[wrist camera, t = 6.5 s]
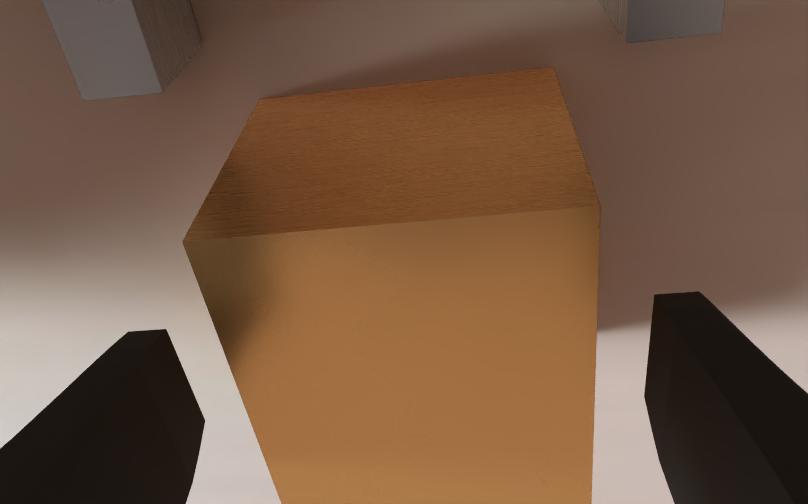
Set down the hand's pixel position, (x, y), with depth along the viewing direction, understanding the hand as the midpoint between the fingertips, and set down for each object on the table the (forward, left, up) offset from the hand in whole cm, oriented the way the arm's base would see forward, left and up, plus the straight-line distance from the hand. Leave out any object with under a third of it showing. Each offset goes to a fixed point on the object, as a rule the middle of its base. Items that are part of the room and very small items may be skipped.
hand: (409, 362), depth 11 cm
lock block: (0, 0, -4) cm, 4 cm away
